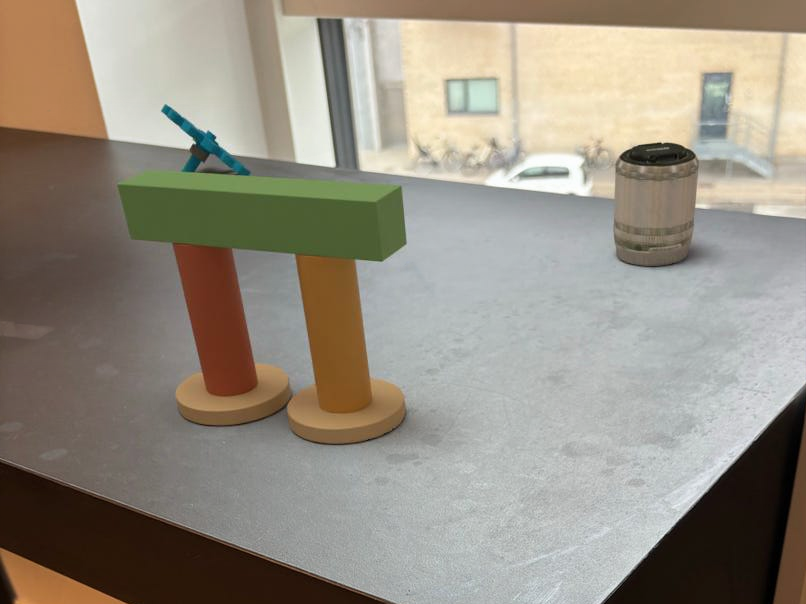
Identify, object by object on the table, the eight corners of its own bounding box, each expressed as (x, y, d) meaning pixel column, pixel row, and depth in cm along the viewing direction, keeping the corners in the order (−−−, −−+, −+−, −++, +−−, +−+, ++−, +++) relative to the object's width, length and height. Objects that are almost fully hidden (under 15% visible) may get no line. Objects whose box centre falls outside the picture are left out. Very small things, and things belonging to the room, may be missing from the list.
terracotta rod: (155, 417, 62) (111, 251, 56) (219, 371, 67) (185, 214, 61) (252, 432, 60) (217, 261, 54) (311, 384, 65) (285, 222, 59)
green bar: (130, 239, 57) (116, 183, 56) (162, 223, 60) (149, 169, 58) (382, 262, 52) (375, 201, 50) (407, 244, 54) (402, 184, 52)
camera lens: (600, 248, 83) (603, 144, 78) (671, 238, 84) (678, 134, 79) (630, 272, 78) (635, 163, 73) (705, 261, 79) (714, 152, 74)
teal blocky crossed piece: (257, 171, 101) (168, 99, 96) (224, 221, 103) (134, 153, 98) (250, 162, 111) (168, 96, 106) (220, 208, 112) (138, 145, 107)
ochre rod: (267, 435, 60) (233, 262, 53) (325, 386, 65) (300, 223, 58) (373, 451, 57) (350, 273, 51) (424, 399, 62) (410, 231, 56)
